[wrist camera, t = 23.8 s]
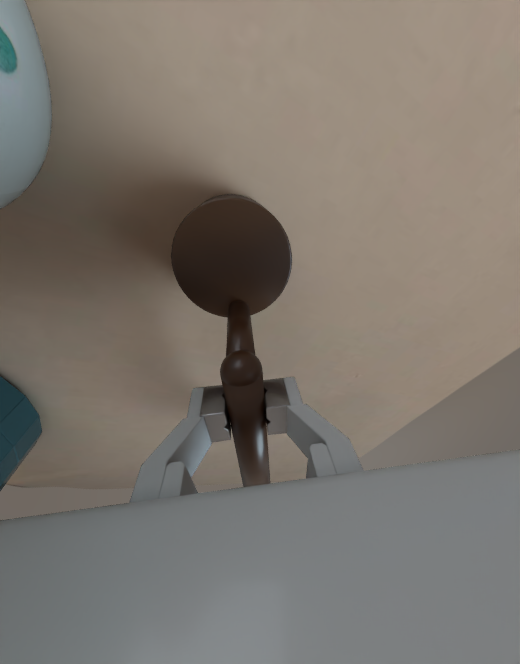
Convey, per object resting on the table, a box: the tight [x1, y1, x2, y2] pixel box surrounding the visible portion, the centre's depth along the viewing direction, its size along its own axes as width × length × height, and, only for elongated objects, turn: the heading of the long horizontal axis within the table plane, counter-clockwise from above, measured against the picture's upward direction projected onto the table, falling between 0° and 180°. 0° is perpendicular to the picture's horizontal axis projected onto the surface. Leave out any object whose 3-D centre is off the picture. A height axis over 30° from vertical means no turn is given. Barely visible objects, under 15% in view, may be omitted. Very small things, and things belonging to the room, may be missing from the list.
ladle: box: [171, 194, 292, 487], centre depth 14 cm, size 19×6×9 cm, turn 3°
